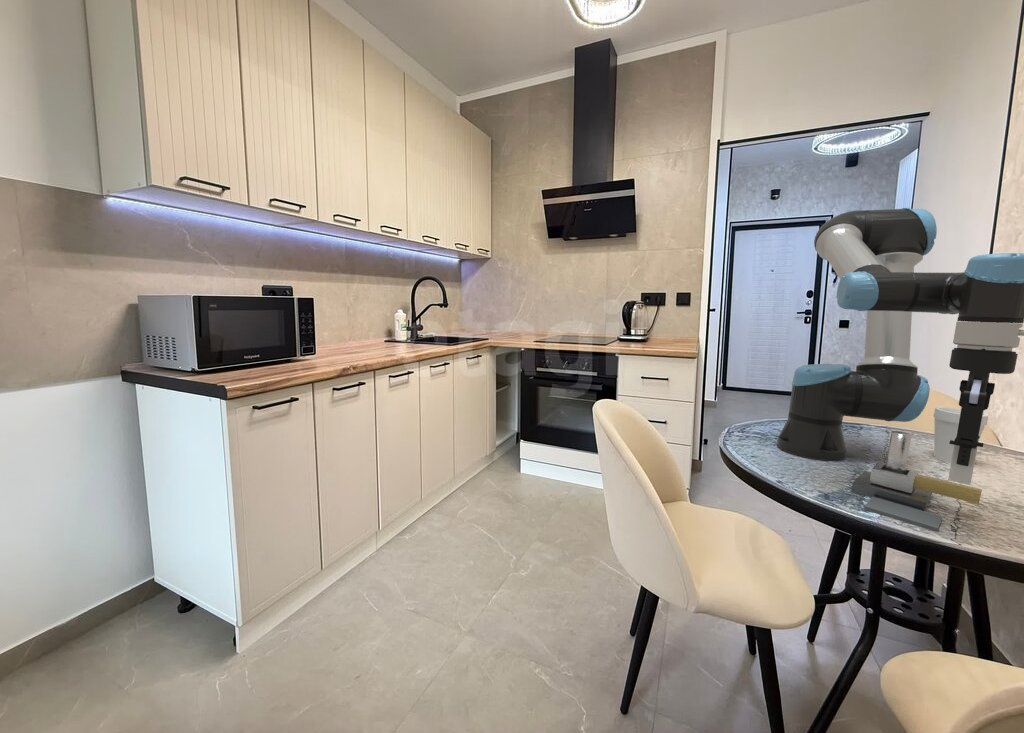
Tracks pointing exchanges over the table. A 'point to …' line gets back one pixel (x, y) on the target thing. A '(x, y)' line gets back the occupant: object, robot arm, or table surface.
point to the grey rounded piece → (948, 431)
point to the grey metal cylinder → (898, 452)
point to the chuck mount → (891, 493)
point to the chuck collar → (922, 484)
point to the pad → (904, 513)
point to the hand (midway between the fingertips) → (959, 481)
